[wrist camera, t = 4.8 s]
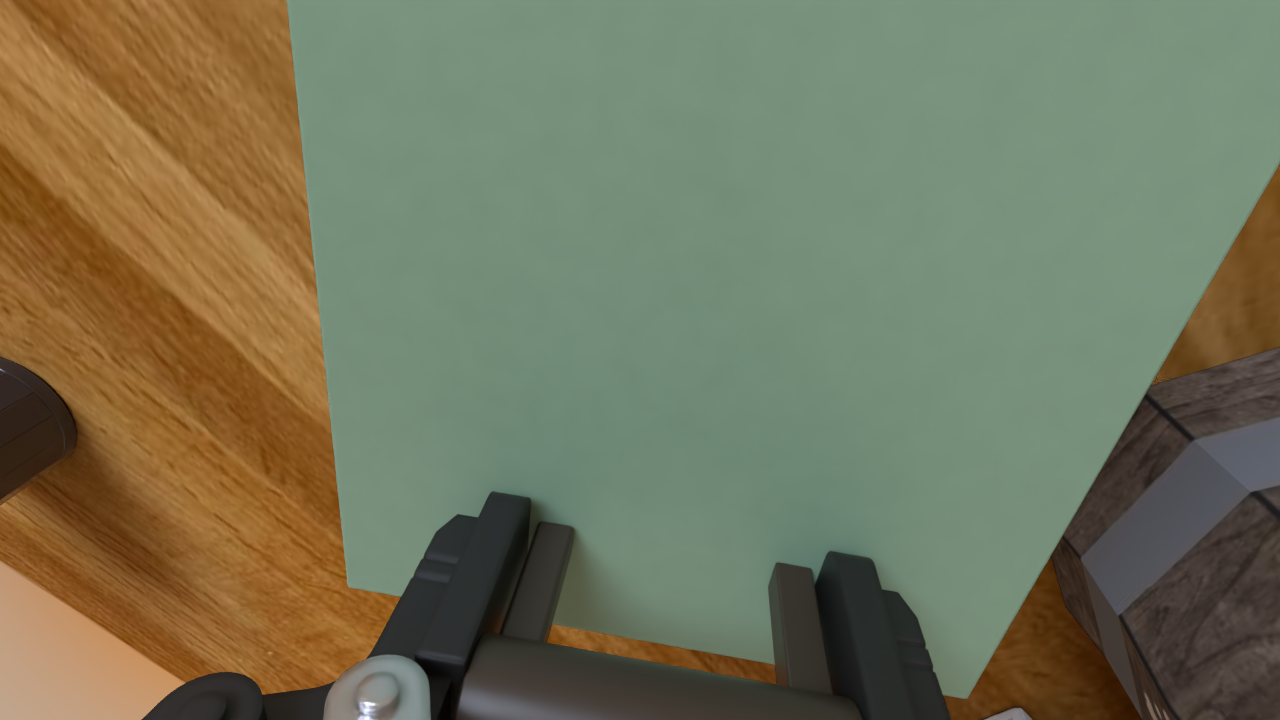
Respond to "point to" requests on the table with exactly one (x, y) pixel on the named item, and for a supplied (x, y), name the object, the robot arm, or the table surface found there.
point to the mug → (1187, 547)
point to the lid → (756, 304)
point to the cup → (30, 429)
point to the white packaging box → (1011, 715)
